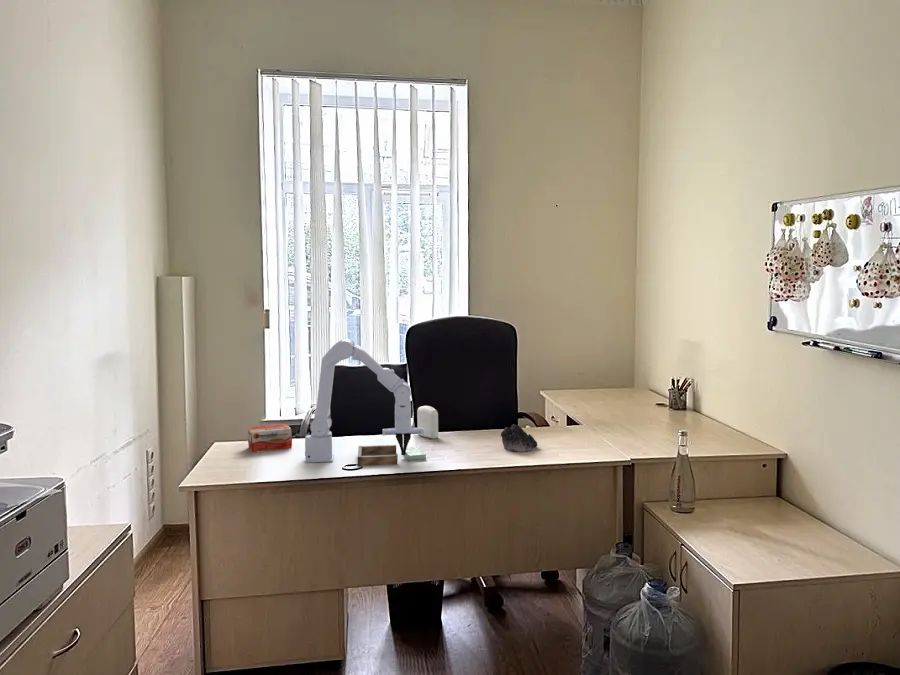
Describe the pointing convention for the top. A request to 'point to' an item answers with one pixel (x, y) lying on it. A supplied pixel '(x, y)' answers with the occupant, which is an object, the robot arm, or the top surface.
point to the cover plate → (415, 454)
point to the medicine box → (269, 438)
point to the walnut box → (377, 459)
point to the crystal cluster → (517, 439)
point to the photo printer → (428, 421)
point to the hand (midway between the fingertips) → (403, 454)
